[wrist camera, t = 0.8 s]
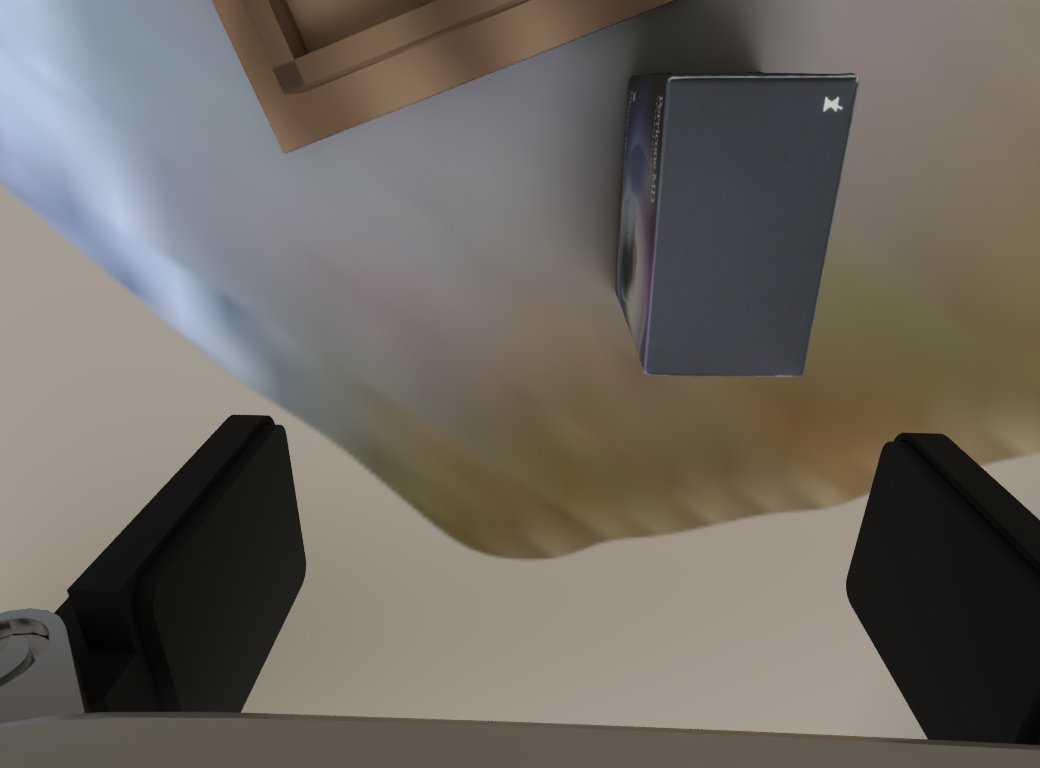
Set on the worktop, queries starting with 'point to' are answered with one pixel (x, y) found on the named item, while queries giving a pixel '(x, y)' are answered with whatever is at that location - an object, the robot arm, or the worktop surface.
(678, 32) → the worktop surface
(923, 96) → the worktop surface
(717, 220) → the small box
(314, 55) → the brown shallow box
